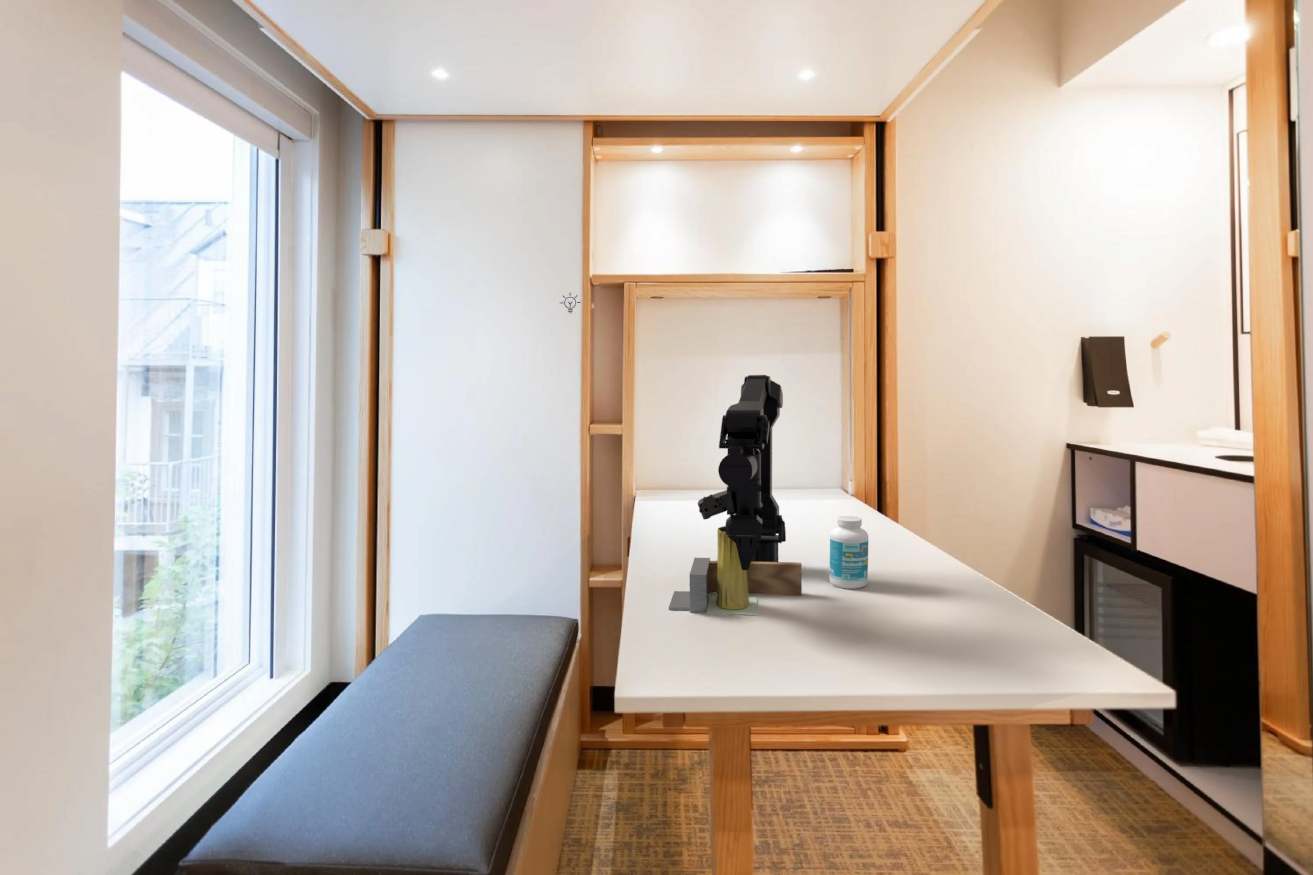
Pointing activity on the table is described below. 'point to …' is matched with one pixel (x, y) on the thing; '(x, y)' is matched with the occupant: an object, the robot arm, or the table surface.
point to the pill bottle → (849, 553)
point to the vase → (730, 575)
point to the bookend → (694, 589)
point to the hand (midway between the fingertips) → (745, 562)
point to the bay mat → (746, 611)
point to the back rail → (768, 578)
